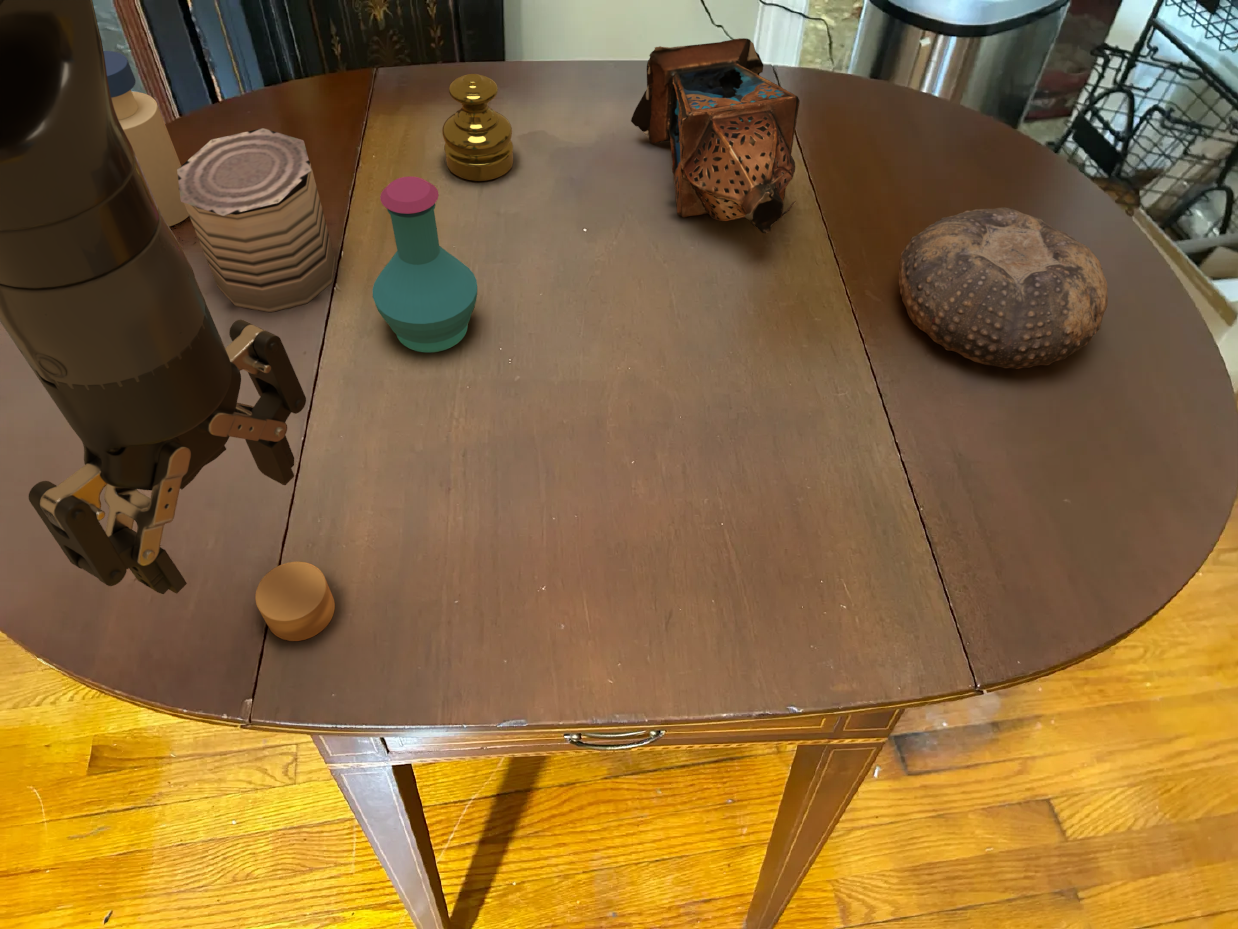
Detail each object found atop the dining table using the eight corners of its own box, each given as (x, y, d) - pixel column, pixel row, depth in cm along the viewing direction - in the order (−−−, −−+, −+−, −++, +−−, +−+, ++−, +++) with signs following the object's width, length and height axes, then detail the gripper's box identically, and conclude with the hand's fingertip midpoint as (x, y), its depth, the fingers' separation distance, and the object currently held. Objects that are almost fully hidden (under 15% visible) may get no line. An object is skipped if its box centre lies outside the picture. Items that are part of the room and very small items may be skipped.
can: (350, 295, 87) (322, 187, 77) (227, 325, 84) (183, 217, 74) (322, 225, 93) (294, 118, 84) (207, 251, 90) (164, 142, 80)
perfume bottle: (363, 348, 82) (328, 209, 71) (407, 285, 88) (381, 146, 76) (457, 372, 81) (437, 235, 69) (496, 306, 86) (484, 169, 75)
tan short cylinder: (300, 653, 64) (289, 633, 61) (252, 618, 65) (240, 597, 63) (349, 604, 66) (340, 583, 64) (301, 571, 68) (291, 549, 65)
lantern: (676, 181, 111) (748, 309, 95) (592, 93, 99) (658, 221, 84) (784, 86, 105) (880, 205, 89) (708, -19, 94) (802, 96, 78)
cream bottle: (155, 237, 91) (90, 92, 79) (111, 212, 93) (41, 67, 81) (209, 204, 94) (155, 60, 82) (165, 181, 97) (106, 37, 84)
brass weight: (498, 189, 98) (491, 102, 90) (435, 174, 99) (423, 88, 91) (523, 152, 102) (519, 67, 94) (462, 138, 104) (453, 53, 96)
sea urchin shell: (1065, 412, 80) (1095, 323, 73) (862, 355, 88) (869, 269, 81) (1118, 292, 90) (1148, 203, 82) (930, 250, 98) (942, 166, 91)
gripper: (173, 204, 44) (263, 421, 57) (-96, 387, 37) (78, 591, 49) (292, 256, 42) (358, 469, 55) (33, 462, 34) (180, 655, 47)
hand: (226, 527), depth 52 cm, fingers open, 8 cm apart
